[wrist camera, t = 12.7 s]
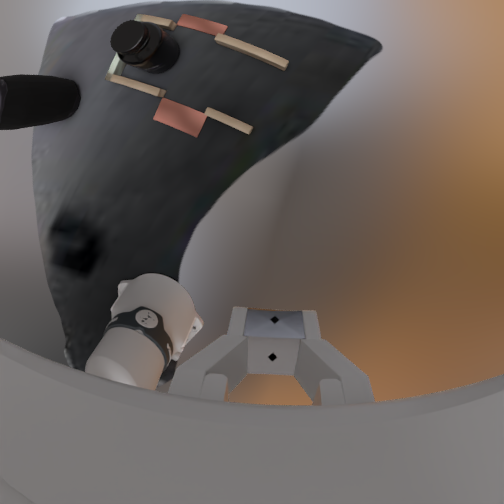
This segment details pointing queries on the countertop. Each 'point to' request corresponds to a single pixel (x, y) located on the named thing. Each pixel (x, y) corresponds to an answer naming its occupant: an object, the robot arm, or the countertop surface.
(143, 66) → the supplement bottle
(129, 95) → the countertop surface
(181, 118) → the channel
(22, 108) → the portable speaker
